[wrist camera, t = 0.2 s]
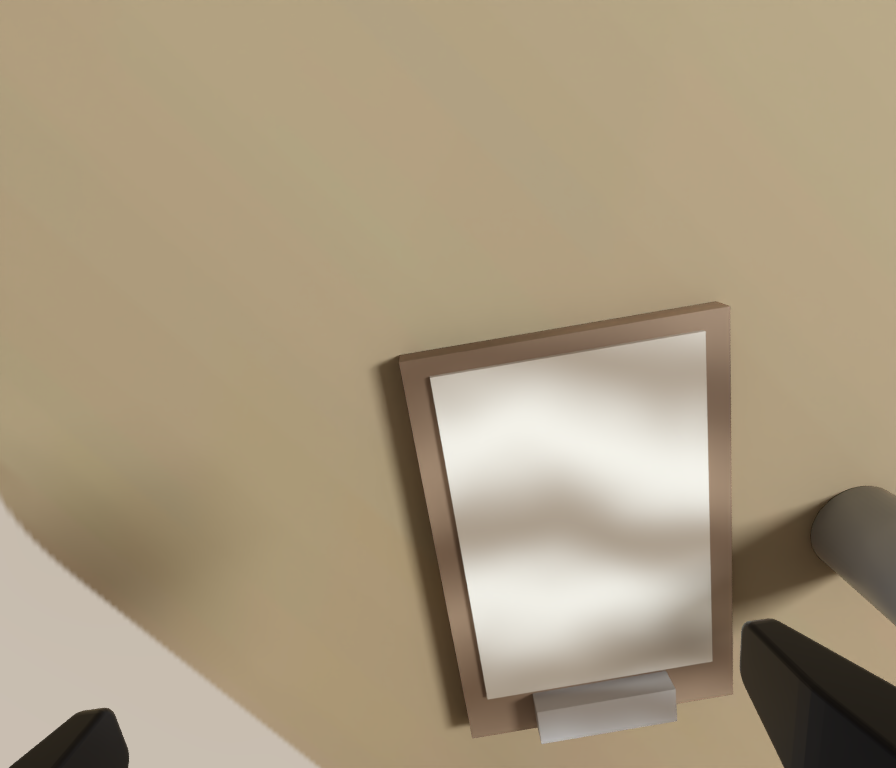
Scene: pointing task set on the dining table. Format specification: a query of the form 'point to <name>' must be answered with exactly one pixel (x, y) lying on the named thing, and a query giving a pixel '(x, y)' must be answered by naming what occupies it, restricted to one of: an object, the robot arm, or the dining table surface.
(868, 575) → the marker
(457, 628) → the clipboard
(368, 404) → the dining table surface
